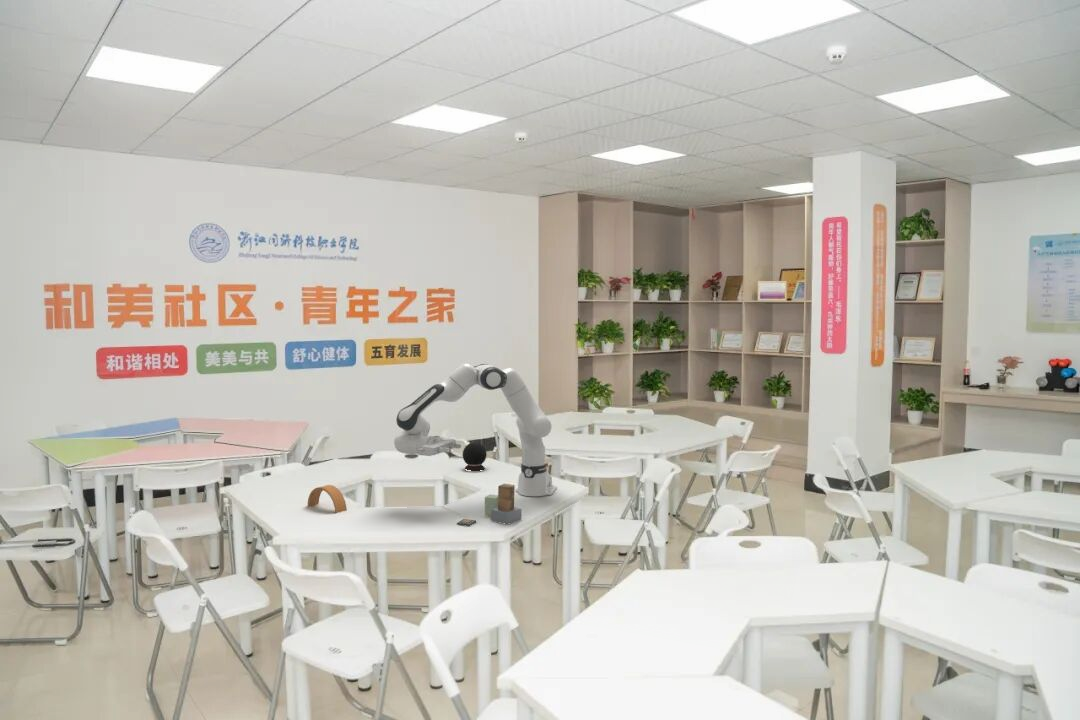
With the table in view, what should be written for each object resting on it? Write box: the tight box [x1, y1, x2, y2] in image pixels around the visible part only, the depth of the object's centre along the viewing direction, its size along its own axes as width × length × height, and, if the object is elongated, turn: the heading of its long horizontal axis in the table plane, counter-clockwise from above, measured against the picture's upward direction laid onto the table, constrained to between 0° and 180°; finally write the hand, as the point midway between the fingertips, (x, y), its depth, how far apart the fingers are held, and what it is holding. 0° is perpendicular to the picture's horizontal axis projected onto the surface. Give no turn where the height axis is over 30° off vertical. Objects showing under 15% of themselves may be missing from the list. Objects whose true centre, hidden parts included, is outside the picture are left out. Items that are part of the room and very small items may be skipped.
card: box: [456, 518, 477, 527], centre depth 303 cm, size 6×6×1 cm
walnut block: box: [497, 483, 516, 511], centre depth 308 cm, size 5×5×10 cm
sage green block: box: [484, 494, 498, 517], centre depth 316 cm, size 5×5×8 cm
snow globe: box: [461, 442, 488, 472], centre depth 403 cm, size 13×13×15 cm
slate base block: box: [490, 506, 522, 525], centre depth 309 cm, size 9×9×5 cm
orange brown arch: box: [307, 484, 347, 514], centre depth 326 cm, size 6×20×10 cm, turn 54°
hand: (454, 448), depth 319 cm, fingers open, 8 cm apart
